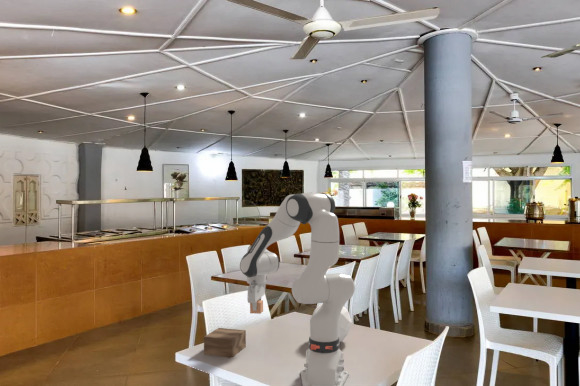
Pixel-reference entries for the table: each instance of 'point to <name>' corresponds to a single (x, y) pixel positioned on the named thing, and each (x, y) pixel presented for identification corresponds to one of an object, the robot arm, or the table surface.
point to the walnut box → (224, 342)
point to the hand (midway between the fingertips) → (256, 308)
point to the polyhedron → (341, 322)
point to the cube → (259, 307)
